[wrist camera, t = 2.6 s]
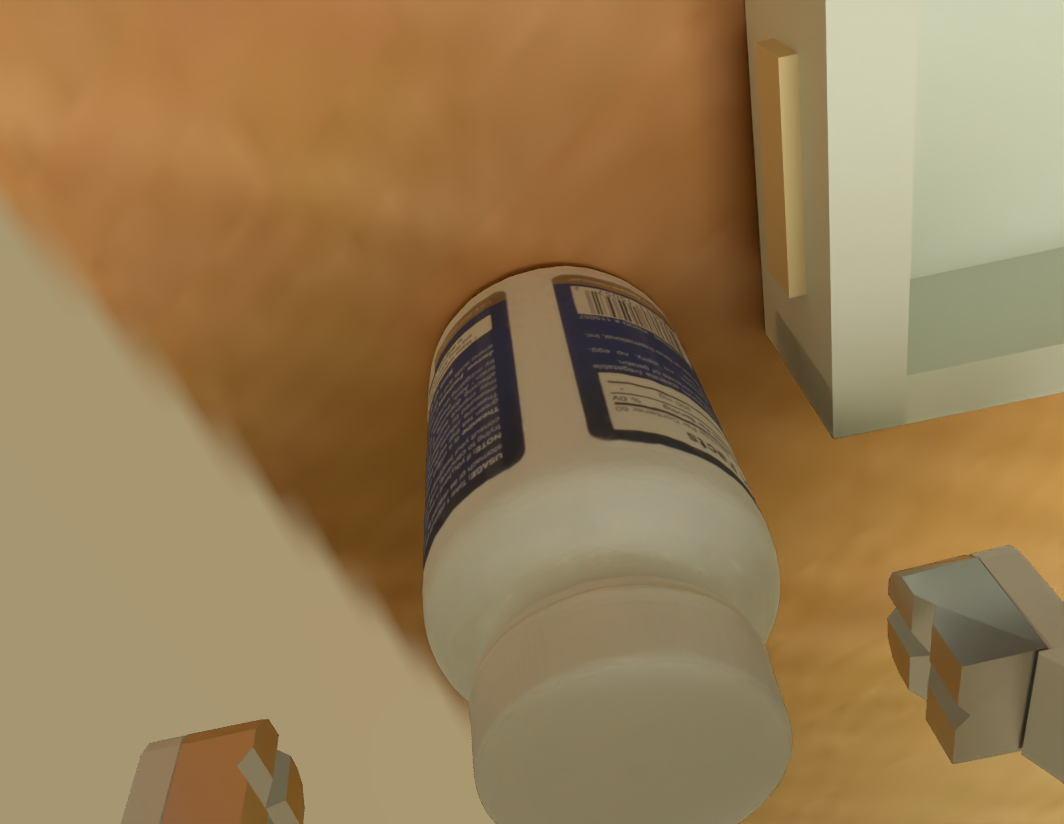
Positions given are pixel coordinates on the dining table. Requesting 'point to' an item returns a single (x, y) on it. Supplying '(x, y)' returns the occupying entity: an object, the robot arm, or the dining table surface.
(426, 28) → the dining table surface
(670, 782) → the pill bottle
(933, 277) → the rack
